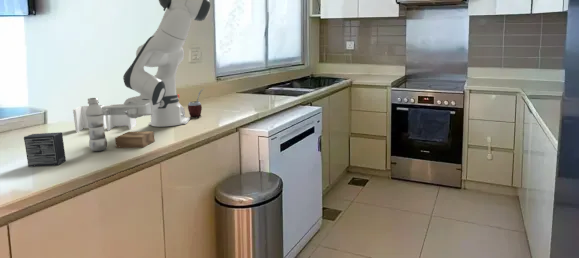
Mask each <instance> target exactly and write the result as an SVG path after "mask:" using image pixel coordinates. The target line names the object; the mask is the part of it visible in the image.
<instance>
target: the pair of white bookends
mask: <svg viewBox="0 0 579 258" xmlns="http://www.w3.org/2000/svg"><path fill="white" fill-rule="evenodd" d="M121 104H122V103H114V104H111V105H121ZM98 105H99V106H100V107H101V108H102V107H104V106H105V104H98ZM88 106H89V105H80V106H78V107H76V108H73V109H72V113H73V121H74V127H75V133H77V132H78V133H80V132H81V131H82V130H84V129H89V127H88V122H87V118H86V114H85V113H86V109H87V108H88ZM136 119H137V118H130V117H128V116H127V115H104V117H103V123H104V129H106V130H107V132H108V131H110V130H111V129H112V128H115V127H128V130H132V129H134V128H135V127H136V126H137V120H136ZM83 128H84V129H83Z"/></svg>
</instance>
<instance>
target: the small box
mask: <svg viewBox="0 0 579 258" xmlns="http://www.w3.org/2000/svg"><path fill="white" fill-rule="evenodd" d="M23 140H24V146H25V154H26V159H27V166H28V168H30V167H31V168H32V167H33V168H34V167H47V166H48V167H51V166H59V165H61V164H63V163H64V162H67V158H66V151H65V145H64V137H63V132H59V131H58V132H44V133H32V134H28V135H24V137H23Z"/></svg>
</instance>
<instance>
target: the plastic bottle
mask: <svg viewBox="0 0 579 258" xmlns="http://www.w3.org/2000/svg"><path fill="white" fill-rule="evenodd" d="M87 104H88V105H87V106H88V108H87V109H86V113H85V114H86V118H87V122H88V127H89V128H88V132H89V134H88V137H89V141H88V146H89V149H90V150H91V152H102V151H104V150H107V147H108V141H107V136H106V132H105V128H104V123H103V117H104V115H103V114H104V112H103V109H102V108H101V107H100V106H99V105H100V104H99V97H90V98H87Z"/></svg>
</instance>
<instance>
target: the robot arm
mask: <svg viewBox="0 0 579 258" xmlns="http://www.w3.org/2000/svg"><path fill="white" fill-rule="evenodd" d="M158 2H159V5H160V6H161V7H162V9H163V11H164V14H163V16H162V18H161V21H160V23H159V25H158V27H157V29H156V30H155V32H154V33H153V34H152V35H151V36H150V37H149V38H148V39H147V40H146V41H145V42H144V43H143V44H141V45H139V46H138V47H137V50H136V52H135V58H134V60H133V62H132V64H130V66H129V67H128V68H127V70H125V73H124V74H123V77H122V79H123V83H124V86H125V87H126V88H128V89H130V90H133V91H134V92H137V93H139V95H138V96H133V97H128V98H126V100H125V101H124V102H123V103H120V104H121V105H112V104H109V105H104V107H102V109H103V112H104V114H103V115H127V116H128V117H130V118H136V119H137V118H141V117H145V116H146V117H147V116H150V121H149V122H148V125H149V126H152V127H158V128H159V127H163V128H164V127H174V126H179V125H180V126H181V125H186V124H187V123H188V122H189V121H190V120H191V118H190V116H186V112H185V107H183V105H182V104H181V103H180V102H179V101H180V100H179V99H180V94H179V93H178V94H177V85H176V84H177V83H176V82H177V81H176V80H177V72H178V68H179V66H180V64H181V63H182V62H183V60H184V58H185V51H184V48H183V47H184V45H185V42H186V40H187V38H188V35H189V32H190V29H191V26H192V22H193V21H192V20H194V21H197V22H202V21H205V20H206V19H207V17H209V15H210V13H211V5H212V4H211V1H210V0H158ZM145 67H147V68H157V71H156V73H155V74H154V75H152V74H151V73H149V72H148V71H146V70H145Z"/></svg>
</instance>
